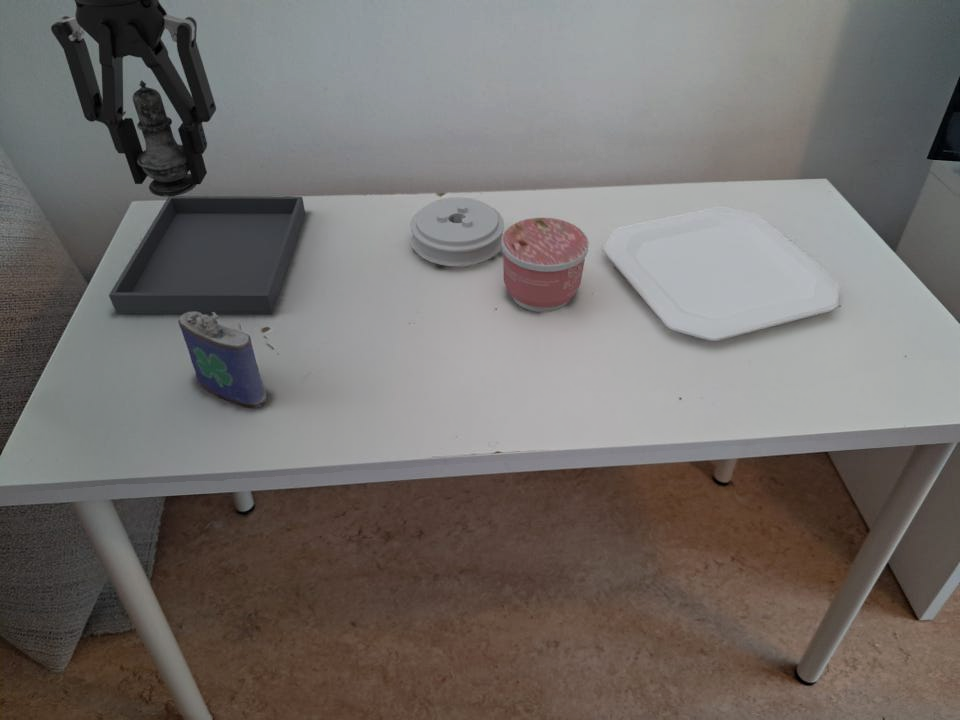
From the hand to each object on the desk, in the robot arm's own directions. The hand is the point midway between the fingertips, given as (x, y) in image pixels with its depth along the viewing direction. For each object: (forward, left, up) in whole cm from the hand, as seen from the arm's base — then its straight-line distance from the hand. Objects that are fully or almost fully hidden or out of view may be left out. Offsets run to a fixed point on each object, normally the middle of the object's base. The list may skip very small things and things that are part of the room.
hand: (171, 177), depth 83 cm
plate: (+56, -35, -16) cm, 68 cm away
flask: (-4, -20, -16) cm, 26 cm away
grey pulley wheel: (+32, -10, -16) cm, 37 cm away
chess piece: (0, 0, -1) cm, 1 cm away
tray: (+4, +5, -16) cm, 17 cm away
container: (+35, -25, -16) cm, 46 cm away
